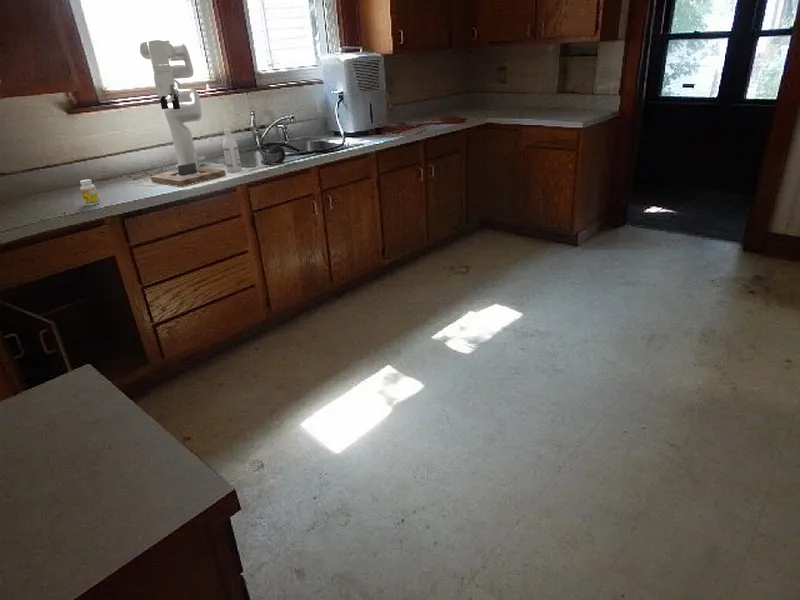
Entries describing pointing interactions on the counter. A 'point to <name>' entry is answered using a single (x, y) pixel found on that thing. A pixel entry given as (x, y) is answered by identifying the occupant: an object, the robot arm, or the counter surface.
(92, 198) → the supplement bottle
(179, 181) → the brown wooden square frame
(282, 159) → the caster wheel
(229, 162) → the bath foam
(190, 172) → the dial
